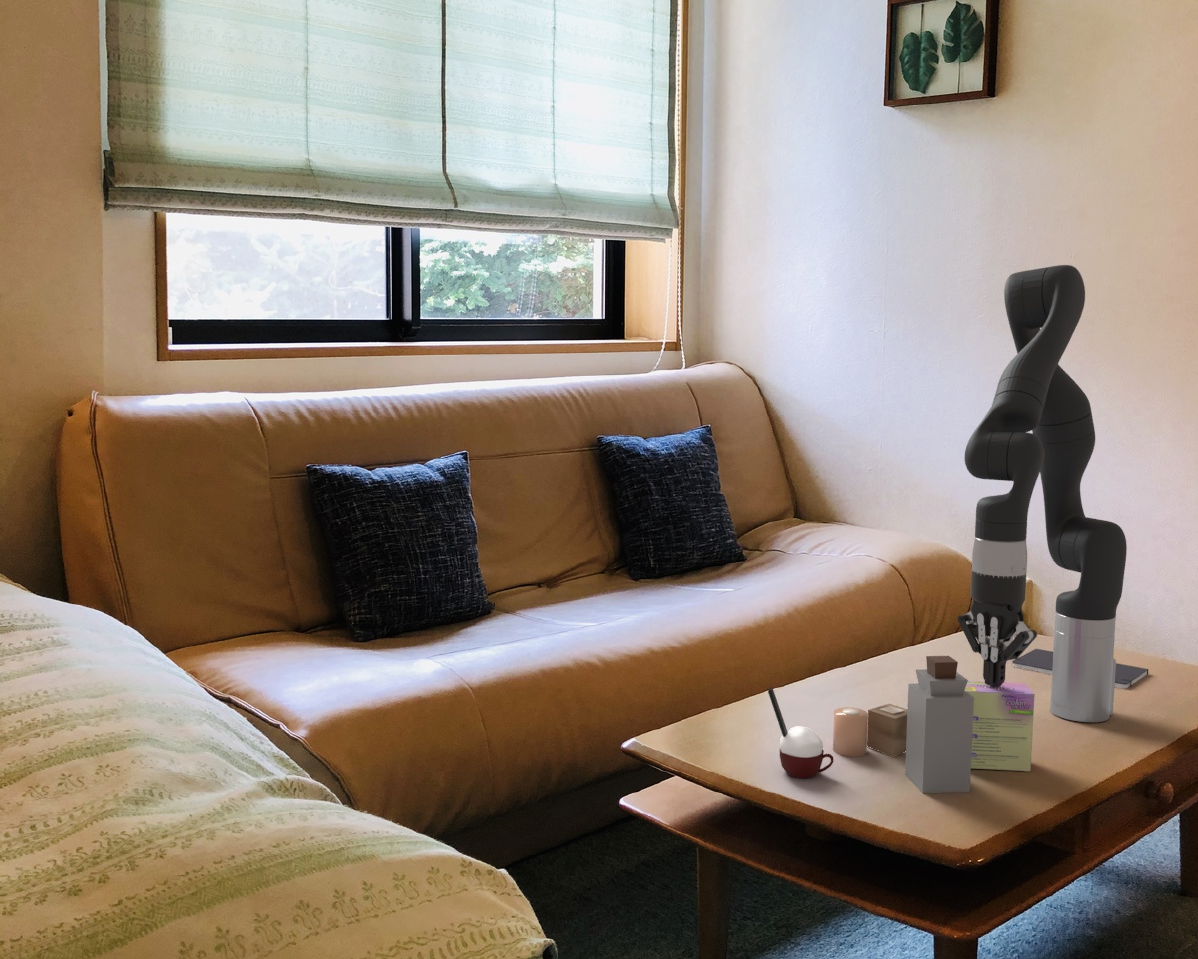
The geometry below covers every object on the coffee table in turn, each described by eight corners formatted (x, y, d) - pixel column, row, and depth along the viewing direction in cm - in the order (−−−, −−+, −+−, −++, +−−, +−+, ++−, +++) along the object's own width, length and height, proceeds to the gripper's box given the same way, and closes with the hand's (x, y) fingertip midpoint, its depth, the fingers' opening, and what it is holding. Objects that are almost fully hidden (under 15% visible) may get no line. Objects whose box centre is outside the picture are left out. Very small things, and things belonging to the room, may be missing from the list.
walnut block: (887, 740, 174) (889, 702, 174) (914, 750, 170) (915, 710, 170) (866, 747, 171) (868, 708, 171) (893, 757, 168) (894, 717, 167)
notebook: (1148, 677, 210) (1035, 656, 224) (1148, 669, 210) (1035, 648, 224) (1126, 692, 201) (1010, 669, 215) (1126, 684, 201) (1010, 661, 215)
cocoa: (836, 777, 160) (844, 697, 159) (813, 789, 156) (821, 706, 154) (780, 758, 167) (787, 680, 165) (757, 768, 162) (763, 688, 160)
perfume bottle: (905, 774, 161) (909, 653, 158) (950, 773, 161) (955, 652, 159) (922, 793, 154) (927, 666, 152) (969, 791, 154) (975, 665, 152)
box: (1020, 758, 167) (1024, 681, 166) (1031, 772, 162) (1035, 693, 160) (949, 755, 168) (952, 679, 167) (957, 769, 163) (961, 691, 161)
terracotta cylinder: (850, 742, 173) (851, 704, 173) (873, 753, 169) (874, 713, 168) (826, 748, 171) (827, 709, 170) (848, 759, 167) (849, 719, 166)
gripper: (1054, 574, 158) (1048, 693, 160) (980, 558, 169) (975, 670, 171) (1018, 579, 154) (1012, 701, 156) (945, 563, 165) (940, 677, 167)
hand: (993, 684), depth 163 cm, fingers closed
